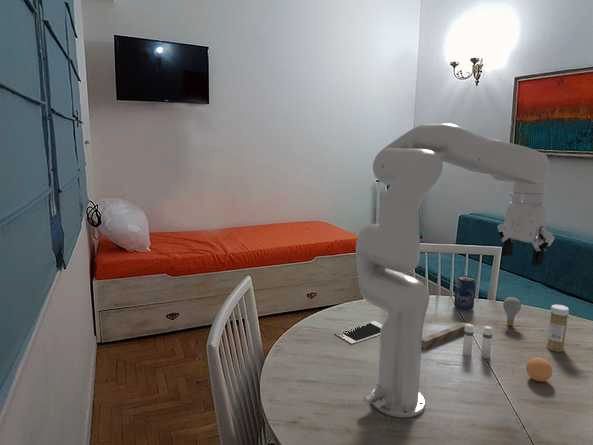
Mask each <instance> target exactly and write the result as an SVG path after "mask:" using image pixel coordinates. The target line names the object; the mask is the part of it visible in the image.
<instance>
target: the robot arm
mask: <svg viewBox="0 0 593 445" xmlns="http://www.w3.org/2000/svg"><path fill="white" fill-rule="evenodd" d="M443 163H446V164H449V165H453V166H456V167H458V168H462V169H465V170H467V171H469V172H470V171H471V172H473V173H480V174H487V175H490V176H491V177H492V178H493V179H494V180H497V181H500V182H509V183H513V186H512V192H510V194H509V196H510V198H511V201H510V202H509V203H508V204H507V205H508V206H507V207H506V212H505V217H504V222H503V223H500V224H498V225H497V230H498V235H499V237H500V238H501V242H502V244H503V245H502V254H501V255H502V257H508V256H509V257H511V256H513V250H514V241H513V240H515V241H519V242H523V243H528V244H529V243H530V244H532V246H533V247H534V250H533V251H532V258H531V259H532V260H531V264H532V265H533V266H540V265H542V264H543V261H544V254H545V251H546V250H547V249H548V248H549V247H551V246H552V244H553V242H554V240H555V239H556V237H555V236H554V234H552V233H551V232H549V231H548V230H547V229H546V226H547V225H546V224H547V220H546V219H547V218H546V213H547V212H546V207H545V205H544V197H545V189H546V179H547V178H548V176H549V174H550V170H551V165H550V161H549V159H548V156H547V154H545V153H542V152H540V151H538V150H536V149H533V148H531V147H528V146H524V145H520V144H515V143H511V142H506V141H503V140H499V139H494V138H489V137H486V136H483V135H481V134H479V133H477V132H474V131H471V130H469V129H466V128H464V127H462V126H459V125H456V124H453V123H432V124H431V123H430V124H429V123H428V124H421V125H417V126H415V127H414V128H412V129H410V130H407V132H405V133H404V134H402V135H400V136H399V137H397V138H396V139H395V140H393V141H392V142H390V143H389V144H387V145H386V146H385V147H383V148H382V149H381V150H380V151H379V152H378V153H377V154H376V156H375V157H374V159H373V162H372V171H373V176H374V177H375V178H376V179H377V180H378V182H380V183H382V184H384V185H388V186H389V187H388V188H387V190H386V191H385V193H384V194H383V196H382V197H381V200H380V204H379V207H378V223H371V224H368V225H366V226H365V227H364V228H363V229H362V230H361V231H360V233H359V234H358V237H357V239H356V244H355V257H356V258H355V259H356V270H357V280H358V288H359V290H360V291H359V292H360V294H361V296H362V297H363V299H364V300H366V301H367V302H368V303H370V304H371V305H373V306H376V307H378V308H380V309H382V310H383V311H385V312H386V313H387V317H386V319H385V321H384V322H383V323H382V324H383V325H382V327H381V331H380V335H379V351H378V352H379V353H378V354H379V356H378V376H377V377H378V379H377V381H378V382H377V385H375V386H374V388H373V390H372V391H371V394H369V395H366V396H364V397H363V399H362V402H363V404H364V405H365V406H367V407H368V406H370V405H373V406H374V407H375V409H377V410H378V411H379V412H381V413H383V414H385V415H387V416H390V417H394V418H395V417H396V418H400V419H401V418H407V419H408V418H413V417H415V416H418V415H420V414H422V413H423V411H424V410H425V407H426V400H425V398H424V396H423V394H422V393H421V392H420V378H421V361H422V348H421V347H422V338H423V331H424V330H423V329H424V323H425V318H426V314H427V310H428V307H429V302H430V292H429V290H428V288H427V286H426V285H425V284H424V283H423V282H422V281H420V280H419V279H417V278H415V277H413V276H410V275H408V274H407V273H410V272H413V271H414V270H415V269H416V268H417V267H418V265H419V264H420V259H421V241H420V239H421V238H420V208H421V204H422V203H423V200H424V199H425V197H426V195H427V194H428V193H429V191H430V190H431V189H432V188H433V186H435V184H436V183H437V182H438V180H439V179H440V177H441V175H442V172H443V166H444V165H443ZM544 240H545V241H544Z"/></svg>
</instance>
